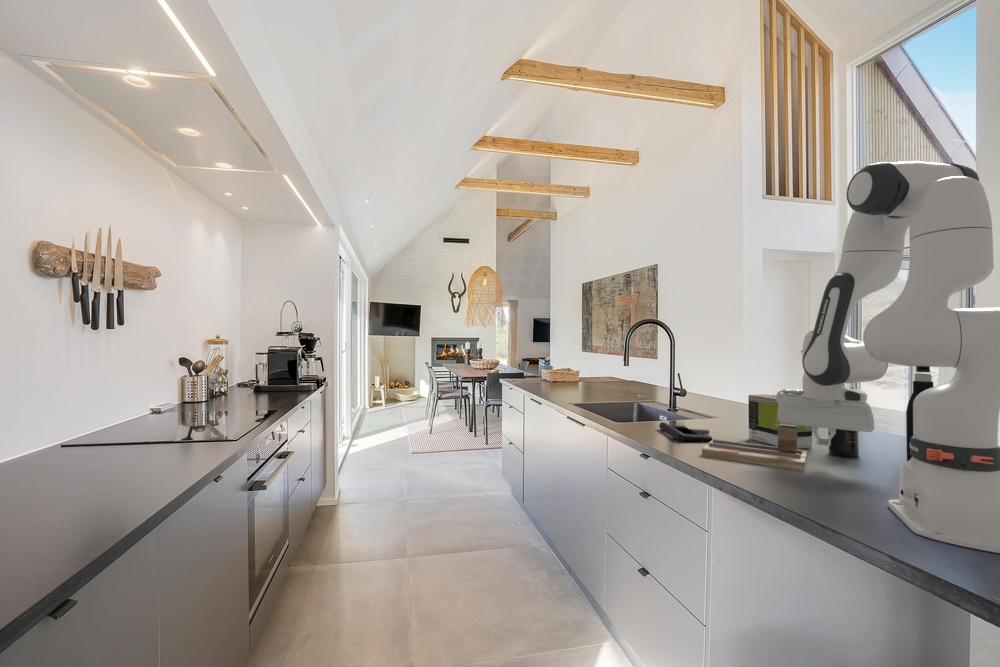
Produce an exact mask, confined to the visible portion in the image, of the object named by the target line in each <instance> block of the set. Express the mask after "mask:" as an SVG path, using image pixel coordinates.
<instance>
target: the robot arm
mask: <svg viewBox="0 0 1000 667" xmlns="http://www.w3.org/2000/svg"><path fill="white" fill-rule="evenodd" d="M986 193H987V192H986V191H985V189H984V186H983V183H982V182H980V177H979V174H978V173H977V172H976V171H975V170H974V169H973V168H971V167H968V166H966V165H963V164H958V163H953V162H952V163H951V162H950V163H940V162H929V161H927V162H926V161H920V160H914V161H913V160H910V161H909V160H907V161H897V162H896V161H895V162H888V161H881V162H876V163H871V164H867V165H865V166H863V167H861V168H860V169H858V170H857V171H856V172H855V174H854V175H853V177H852V178H851V179H850V181H849V183H848V185H847V188H846V200H847V203H848V206H849V208H850V209H851V210H853V213H852V214H851V215H850V219H849V221H848V224H847V228H846V230H845V234H844V239H843V241H842V242H843V244H842V250H841V255H840V261H839V264H838V267H837V269H836V271H835V272H834V275H833V277H831V278H830V279H829V281H828V282H827V284H826V287H825V289H824V292H823V296H822V299H821V302H820V306H819V310H818V313H817V317H816V320H815V324H814V328H813V330H811V331H809V332H807V333H806V334H805V336H804V338H803V342H802V353H801V354H802V355H801V357H802V359H801V360H802V367H803V375H802V389H788V388H787V389H785V388H784V389H782V390H779V391H778V392H777V393H776V394H775V395H776V402H777V404H778V405H779V408H778V417H777V419H778V421H779V422H780V423H781V424H789V425H800V426H810V427H811V430H812V435H813V436H814V437H815V438H816V445H817V446H818V445H819V446H826V447H827V446H828V447H829V446H831V439H832V438H833V436H834V435H835V434H836V429H841V430H851V431H858V432H862V433H863V432H864V433H872V432H873V431H874V430H875V420H874V414H873V409H872V408H871V405H870V404H869V403H868V402H867V400H868V394H867V393H866V392H865V391H863V390H860V389H858V388H857V389H856V388H854V387H851V386H847V385H845V384H857V383H867V382H873V381H877V380H879V379H881V378H883V376H885V374H886V372H887V370H888V368H889V364H891V365H898V366H903V367H904V366H905V367H916V366H926V367H930V368H931V367H935V368H954V369H955V374H954V376H953V377H952V378H951V379H950V380H948V381H947V382H944V383H941V384H939V385H935V386H934V387H932V388H929V389H927V390H924V391H922V392H921V393H919V394H918V395H917V396H916V398H915V399H914V402H913V436H912V437H911V440H910V454H911V455H912V458H911V459H910V460H909V461H908V462H907V461H906V462H904V463H903V464H901V465H900V468H899V470H900V471H899V497H898V498H899V499H888V500H887V507H888V508H889V509H890V510H891V511H892V512H893V513H894V514H895V515H896V516H897V517H898V518H899V519H900V520H901V521H902V522H903V523H904V524H905V525H906V526H907V527H908V528H909V529H910V530H911V531H912V532H913V533H915V534H916V535H920V536H922V537H926V538H928V539H932V540H936V541H939V542H943V543H947V544H952V545H956V546H960V547H965V548H971V549H974V550H980V551H985V552H990V553H995V554H1000V446H999V442H998V441H999V435H998V434H999V421H1000V420H999V419H1000V307H967V308H966V307H965V308H953V307H948V302H949V298H950V297H951V296H952V295H955V294H956V293H959V292H962V291H965V290H967V289H969V288H971V287H974V286H976V285H979V284H980V283H982V282H983V281H985V280H986V279H987V278H988V277H989V276H991V274H992V272H993V270H994V266H995V264H994V243H993V242H994V239H993V238H994V237H993V223H992V222H993V221H992V215H991V208H990V205H989V200H988V197H987V194H986ZM907 229H909V267H908V274H907V280H906V282H905V283H906V284H905V285H904V287H903V290H902V291H901V293H900V294H899V296H898V297H897V298H896V299H895V300H894V302H893V303H891V304H890V305H889V306H888V307H886V308H885V309H884V310H882V311H881V312H879V313H877V314H876V315H875V316H873V317H872V318H871V319H870V320H869V321H868V323H867V324H866V325H865V328H864V330H863V334H862V335H863V336H862V337H863V338H862V340H863V341H862V340H860V339H856V338H853V337H851V336H849V335H847V334H846V333H847V329H848V326H849V321H850V318H851V314H852V311H853V309H854V307H855V306H856V305H857V304H858V303H859V302H860V301H861V300H862V299H865V297H867V296H869V295H871V294H872V293H875V292H878V291H880V290H882V289H884V288H886V287H887V286H889V285H890V284H892V283H893V282H894V281H896V279H897V278H898V275H899V273H900V270H901V267H902V264H903V256H904V247H905V236H906V233H907ZM819 428H823V429H828V428H829V433H831V434H830V435H829V436H827V437H822V436H820V435H819V433H818V432H819Z"/></svg>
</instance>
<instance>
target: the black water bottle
mask: <svg viewBox="0 0 1000 667" xmlns="http://www.w3.org/2000/svg"><path fill="white" fill-rule="evenodd" d="M915 368H916V369H915V372H916V373H914V375H913V377H914V380H913V381H912V393H911V395H910V397H909V400H908V402H907V406H906V411H905V418H906V419H905V422H906V424H905V425H906V426H905V427H906V430H905V431H906V434H905V435H906V462H908V461H909V460H910V459H911V458H912V455H911V454H910V440H911V437H912V436H913V402H914V399H915V398H916V396H917V395H918V394H919V393H921V392H922V391H924V390H927V389H929V388H932V387H935V386H934V382H933V381H932V380H933V378H932V377H933V375H932V374H931V373H930V372H931V367H926V366H915Z"/></svg>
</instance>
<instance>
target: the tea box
mask: <svg viewBox="0 0 1000 667" xmlns="http://www.w3.org/2000/svg"><path fill="white" fill-rule="evenodd" d="M776 395H777V394H775V393H768V394H766V393H763V394H748V439H749V440H750V439H751V440H754V441H757V442H761V443H765V444H769V445H770V446H771V445H772V446H774V447H778V426H779V424H781V423H780V422H779V421H778V419H777V417H778V408H779V405H778V404H777V402H776ZM785 425H789V424H785ZM795 426H797V449H806V448H807V449H808V448H812V447H813V432H812V430H811V427H810V426H800V425H795Z"/></svg>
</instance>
